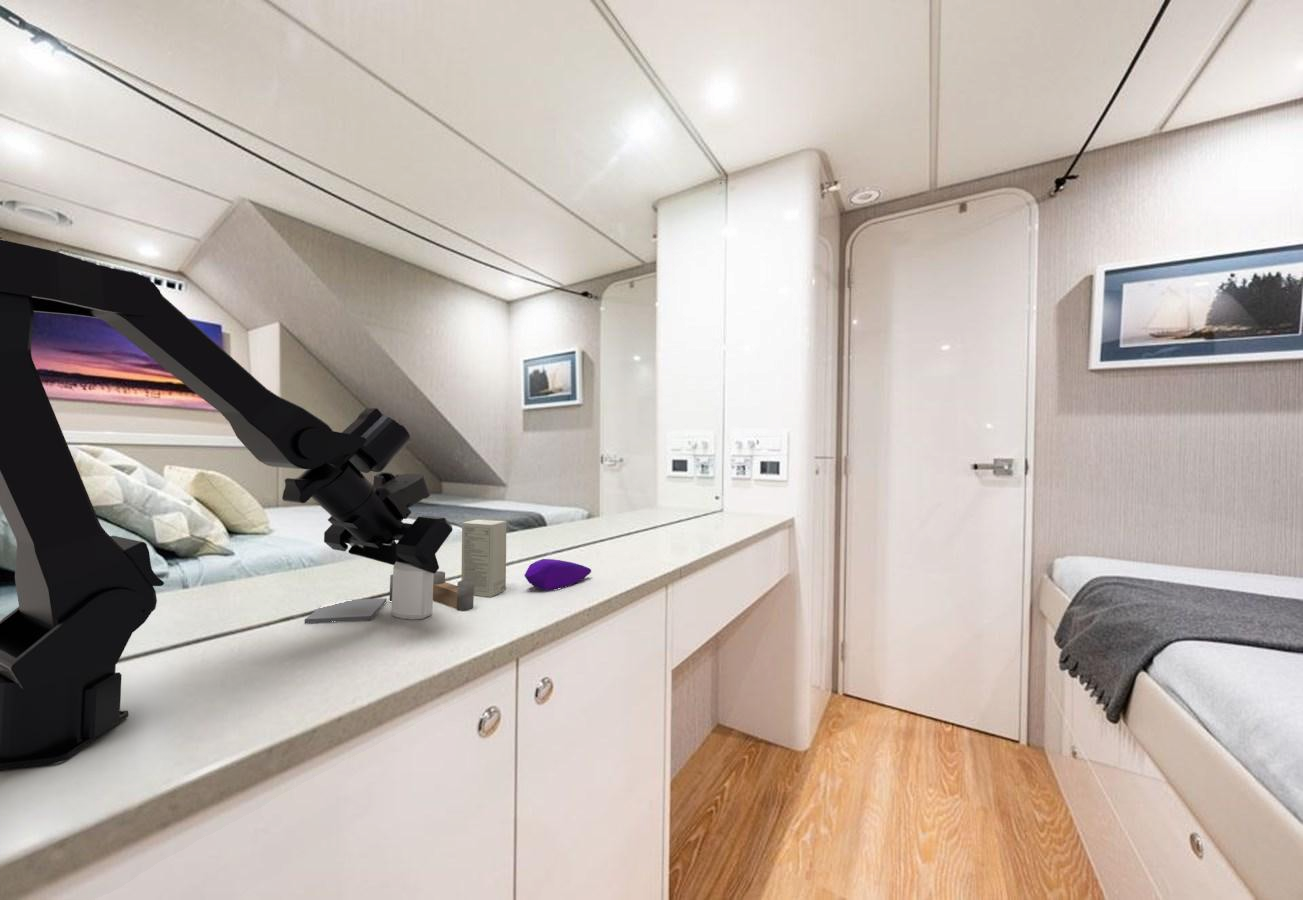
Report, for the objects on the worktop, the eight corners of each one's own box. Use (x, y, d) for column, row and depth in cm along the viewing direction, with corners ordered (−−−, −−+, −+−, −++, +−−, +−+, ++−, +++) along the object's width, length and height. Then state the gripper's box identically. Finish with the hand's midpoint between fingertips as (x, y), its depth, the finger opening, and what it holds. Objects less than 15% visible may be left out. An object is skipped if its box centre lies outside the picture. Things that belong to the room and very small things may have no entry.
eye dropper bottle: (402, 624, 64) (406, 537, 64) (388, 613, 68) (391, 531, 68) (435, 617, 67) (438, 534, 67) (419, 607, 71) (422, 528, 71)
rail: (377, 615, 67) (378, 587, 67) (392, 597, 75) (393, 572, 75) (472, 610, 71) (473, 583, 71) (477, 593, 79) (478, 570, 79)
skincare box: (506, 590, 81) (508, 520, 81) (490, 598, 77) (493, 524, 77) (475, 586, 83) (477, 518, 83) (458, 593, 78) (461, 521, 79)
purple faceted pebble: (600, 560, 90) (534, 564, 79) (597, 586, 90) (531, 593, 78) (583, 556, 93) (518, 559, 82) (581, 580, 93) (515, 587, 82)
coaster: (304, 623, 63) (304, 619, 63) (327, 604, 71) (327, 600, 71) (370, 620, 65) (371, 615, 65) (386, 602, 73) (386, 598, 73)
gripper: (444, 456, 61) (499, 530, 71) (348, 452, 68) (411, 519, 78) (386, 525, 53) (457, 596, 63) (286, 511, 61) (364, 577, 71)
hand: (421, 567), depth 69 cm, fingers closed on eye dropper bottle, 6 cm apart
